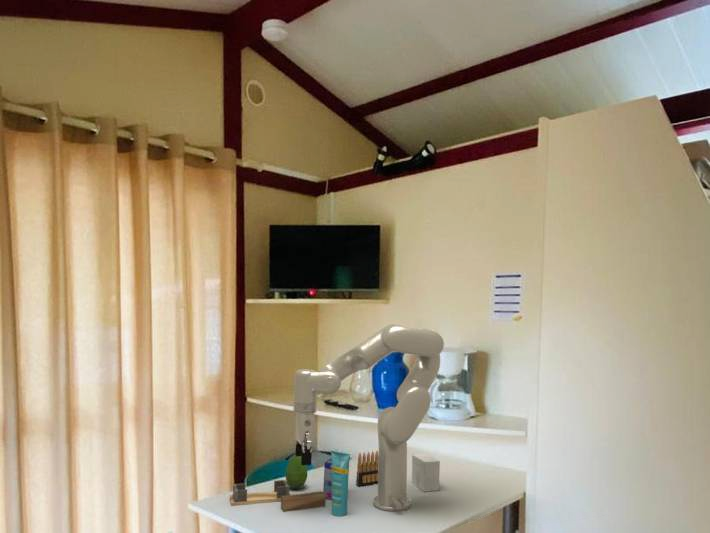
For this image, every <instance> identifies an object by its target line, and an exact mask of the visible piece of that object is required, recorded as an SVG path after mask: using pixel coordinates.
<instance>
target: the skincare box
mask: <svg viewBox="0 0 710 533" xmlns="http://www.w3.org/2000/svg"><path fill="white" fill-rule="evenodd" d="M411 458H412V460H411V484H412V485H415V487H417V488H418V489H420V490H421V491H422V492H424V493H425V492H435V491H436V492H437V491H440V472H441V470H440V468H441V466H440V464H441V462H440V460H439V459H437V458H435V457H433V456H432V455H430V454H428V453H415V454H412V455H411Z"/></svg>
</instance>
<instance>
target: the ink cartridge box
mask: <svg viewBox="0 0 710 533" xmlns="http://www.w3.org/2000/svg"><path fill="white" fill-rule="evenodd" d="M340 453H343V451H340ZM323 466H324V468H323V469H324V471H323V493H324V494H325V495H326V499H328V500H332V461H331V458H328V459H327V460H326V461H324V465H323Z"/></svg>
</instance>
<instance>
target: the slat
mask: <svg viewBox="0 0 710 533" xmlns="http://www.w3.org/2000/svg"><path fill="white" fill-rule="evenodd" d="M326 499H327V498H326V495H325V494H324V493H323V491H321V490H320V491H314V492H306V493H298V494H291V495H287V496H281V501H280V509H281V510H282V512H283V513H287V512H293V511H301V510H309V509H317V508H325V507H326Z"/></svg>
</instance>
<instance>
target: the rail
mask: <svg viewBox="0 0 710 533" xmlns="http://www.w3.org/2000/svg"><path fill="white" fill-rule="evenodd" d="M273 484H274V485H273V491H272V490H270V491H261V492H260V491H259V492H250V493H248V489H246V483H244V482H243V483H234V484H232V494H230V495H229V501H230V506H233V505H234V506H244V505H243V504H245V505H253V503H254V504H263V503H274V502H275V503H276V502H281V496H287V495H292V494H291V492H290V487H289V485H288V483H287V481H286V479H281V480H274V482H273ZM234 506H233V507H234Z"/></svg>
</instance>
